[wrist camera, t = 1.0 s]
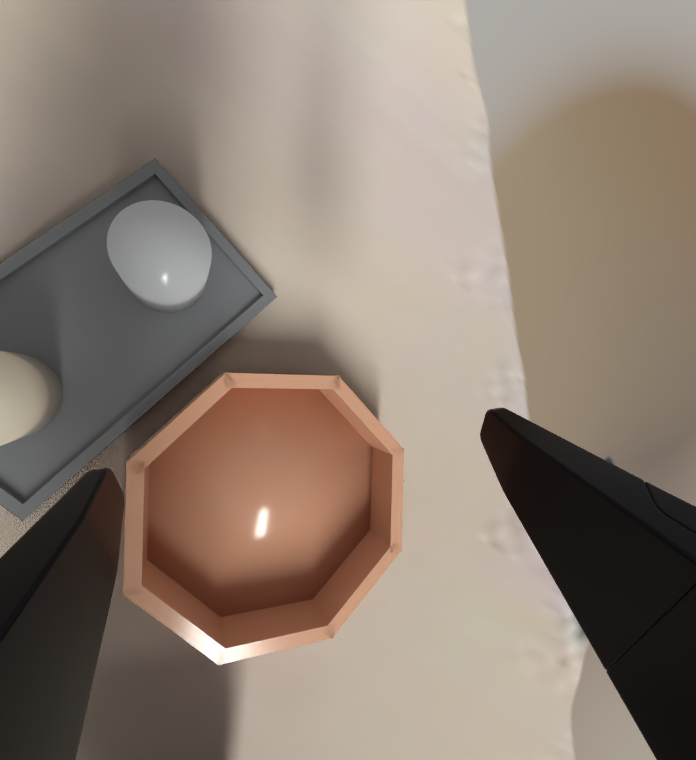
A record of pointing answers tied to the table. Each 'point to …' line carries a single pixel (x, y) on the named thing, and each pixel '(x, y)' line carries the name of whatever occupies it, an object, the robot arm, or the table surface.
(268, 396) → the terracotta bowl
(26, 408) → the cream rounded cylinder
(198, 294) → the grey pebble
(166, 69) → the table surface
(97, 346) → the parts tray
